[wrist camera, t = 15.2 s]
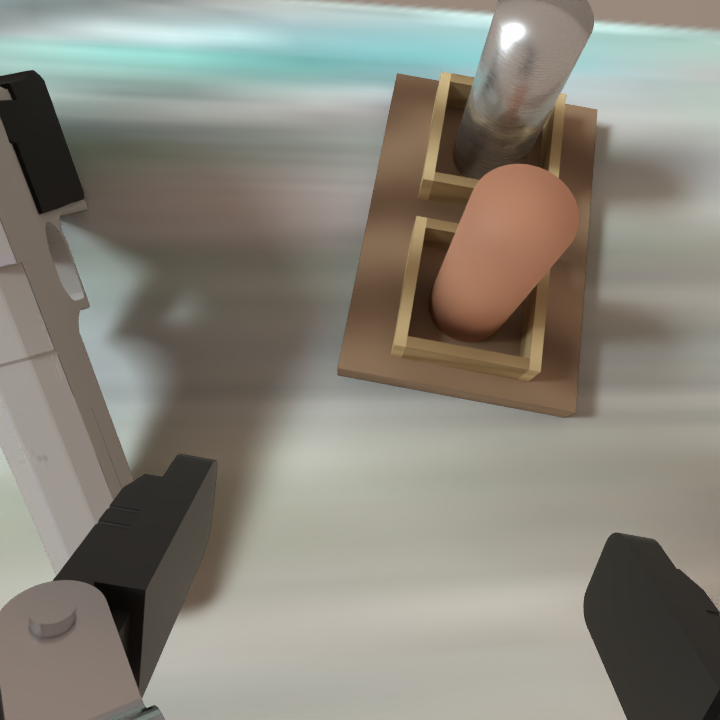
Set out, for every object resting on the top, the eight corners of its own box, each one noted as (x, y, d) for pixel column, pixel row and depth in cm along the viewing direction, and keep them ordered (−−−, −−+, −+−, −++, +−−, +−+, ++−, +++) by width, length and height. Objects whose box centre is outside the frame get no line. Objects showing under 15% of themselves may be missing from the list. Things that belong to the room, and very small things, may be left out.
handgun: (43, 43, 33) (-123, -107, 18) (189, 474, 40) (153, 611, 25) (-29, 57, 32) (-259, -85, 18) (131, 490, 39) (60, 641, 25)
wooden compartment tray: (564, 417, 32) (591, 404, 29) (337, 375, 32) (337, 357, 29) (587, 125, 38) (611, 86, 35) (394, 90, 38) (400, 48, 35)
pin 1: (437, 153, 35) (476, 10, 25) (485, 113, 36) (540, -38, 26) (490, 199, 34) (550, 71, 25) (537, 158, 35) (613, 18, 26)
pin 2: (412, 303, 32) (445, 208, 22) (465, 255, 33) (519, 144, 23) (469, 358, 31) (529, 284, 22) (522, 307, 32) (601, 214, 23)
